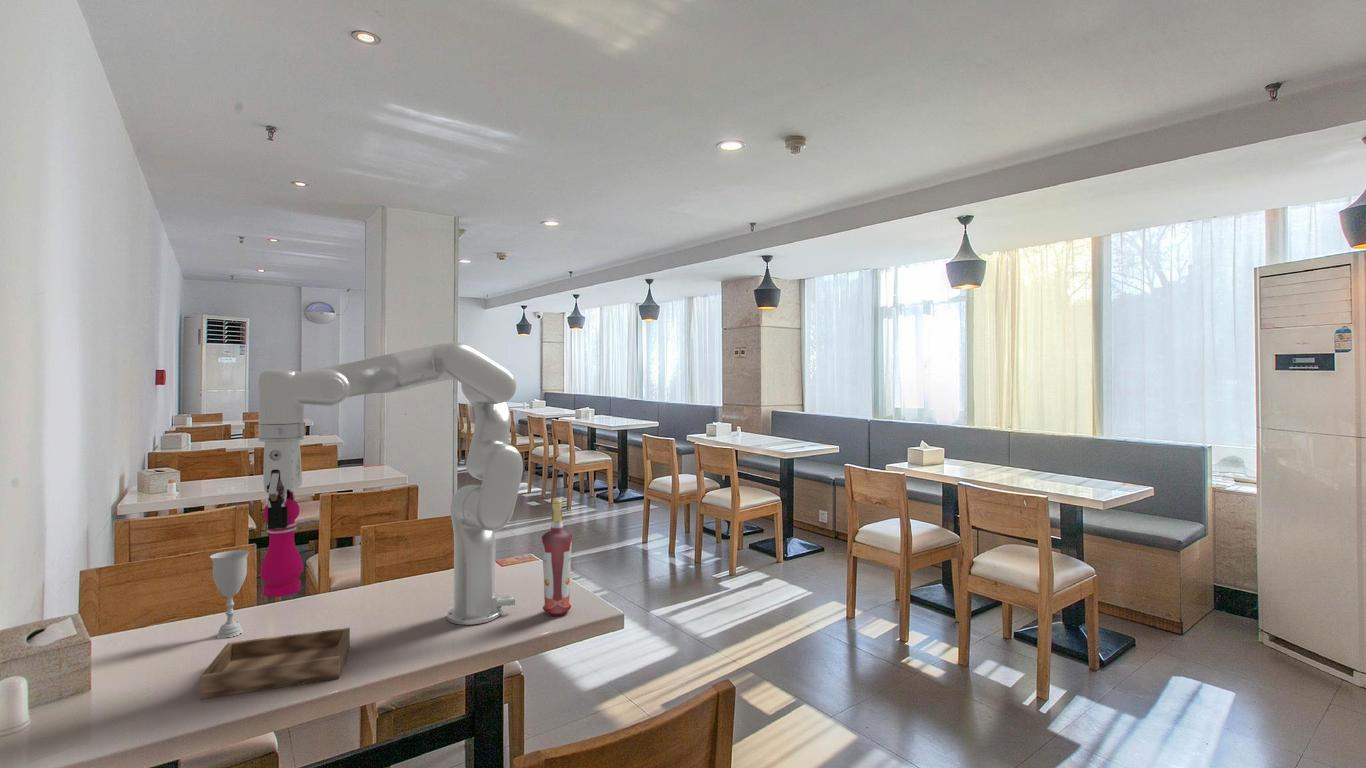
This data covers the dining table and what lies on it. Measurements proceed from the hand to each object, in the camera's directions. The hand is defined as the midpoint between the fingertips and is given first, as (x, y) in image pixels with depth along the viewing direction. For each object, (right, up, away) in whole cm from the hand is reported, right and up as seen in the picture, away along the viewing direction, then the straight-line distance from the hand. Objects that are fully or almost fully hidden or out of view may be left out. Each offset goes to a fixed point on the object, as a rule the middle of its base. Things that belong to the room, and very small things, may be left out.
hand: (281, 523), depth 125 cm
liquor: (+48, -29, +31) cm, 64 cm away
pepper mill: (0, -14, 0) cm, 14 cm away
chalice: (-23, -29, +18) cm, 41 cm away
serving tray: (0, -29, 0) cm, 29 cm away
